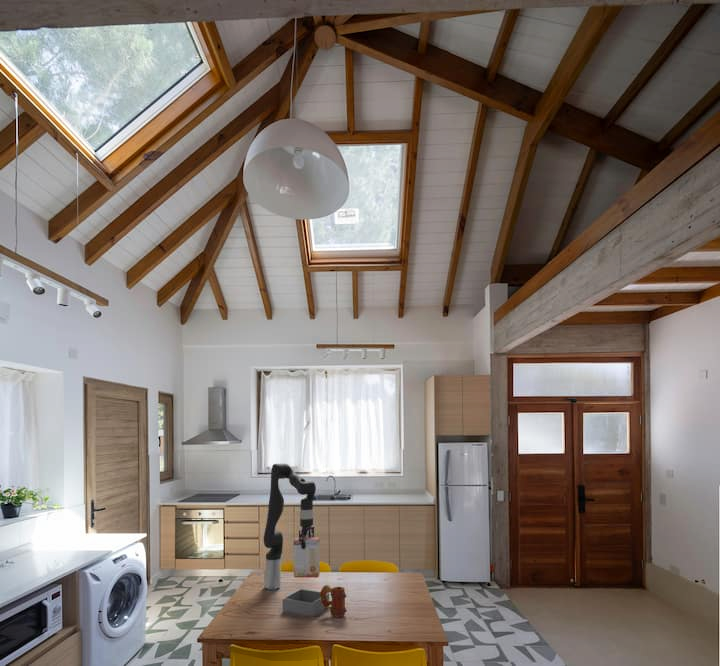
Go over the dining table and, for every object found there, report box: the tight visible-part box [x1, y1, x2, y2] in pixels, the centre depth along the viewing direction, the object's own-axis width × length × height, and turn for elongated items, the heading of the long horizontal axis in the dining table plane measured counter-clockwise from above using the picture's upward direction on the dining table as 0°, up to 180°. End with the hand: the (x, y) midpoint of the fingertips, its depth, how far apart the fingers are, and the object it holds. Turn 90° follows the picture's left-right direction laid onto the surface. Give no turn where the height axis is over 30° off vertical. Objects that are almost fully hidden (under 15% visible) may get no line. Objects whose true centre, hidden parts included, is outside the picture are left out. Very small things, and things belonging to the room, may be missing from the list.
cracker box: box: [293, 536, 321, 578], centre depth 320 cm, size 14×6×21 cm, turn 85°
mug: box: [320, 584, 348, 619], centre depth 299 cm, size 15×8×15 cm, turn 71°
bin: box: [282, 588, 330, 618], centre depth 307 cm, size 19×19×7 cm
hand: (306, 547), depth 320 cm, fingers closed on cracker box, 7 cm apart
